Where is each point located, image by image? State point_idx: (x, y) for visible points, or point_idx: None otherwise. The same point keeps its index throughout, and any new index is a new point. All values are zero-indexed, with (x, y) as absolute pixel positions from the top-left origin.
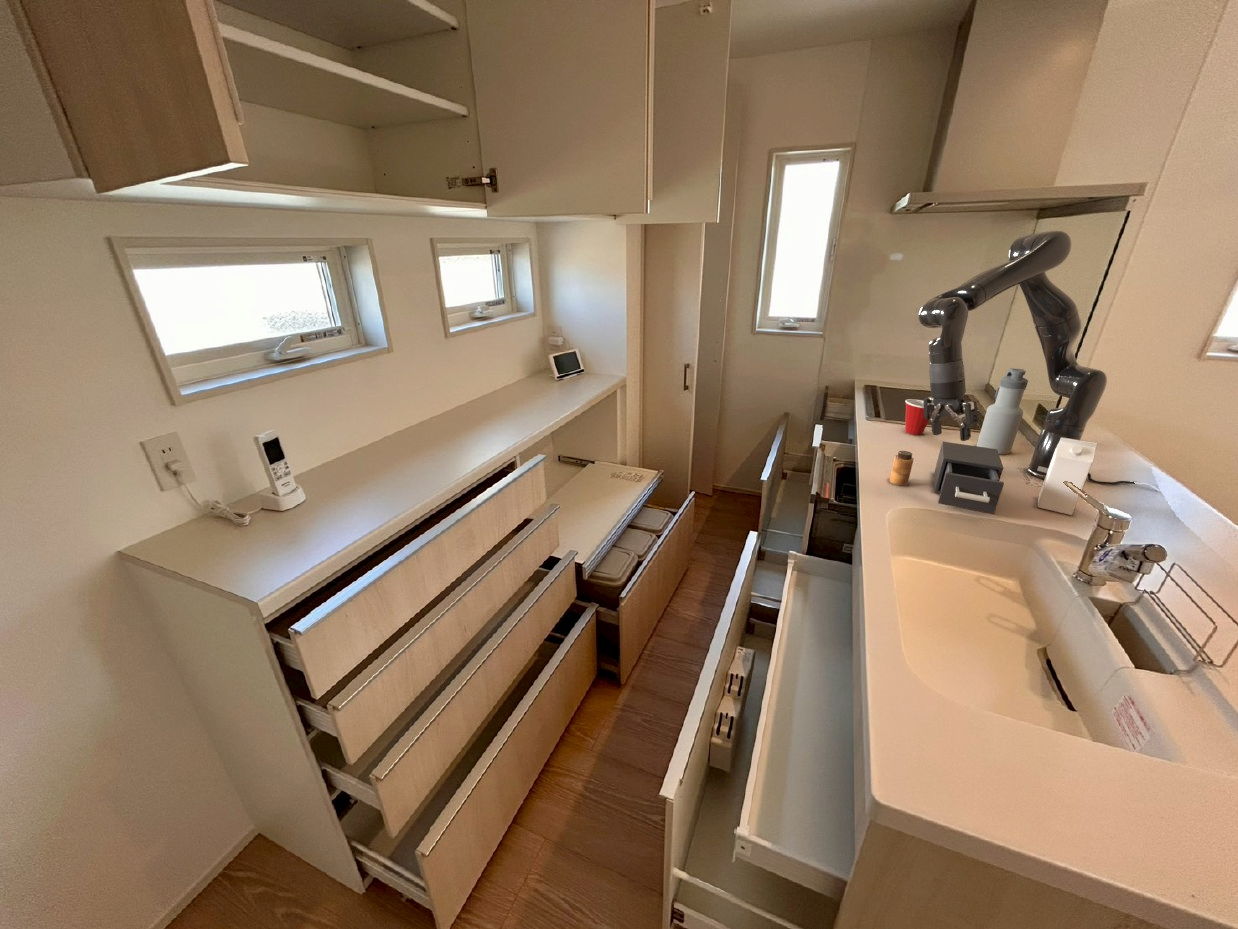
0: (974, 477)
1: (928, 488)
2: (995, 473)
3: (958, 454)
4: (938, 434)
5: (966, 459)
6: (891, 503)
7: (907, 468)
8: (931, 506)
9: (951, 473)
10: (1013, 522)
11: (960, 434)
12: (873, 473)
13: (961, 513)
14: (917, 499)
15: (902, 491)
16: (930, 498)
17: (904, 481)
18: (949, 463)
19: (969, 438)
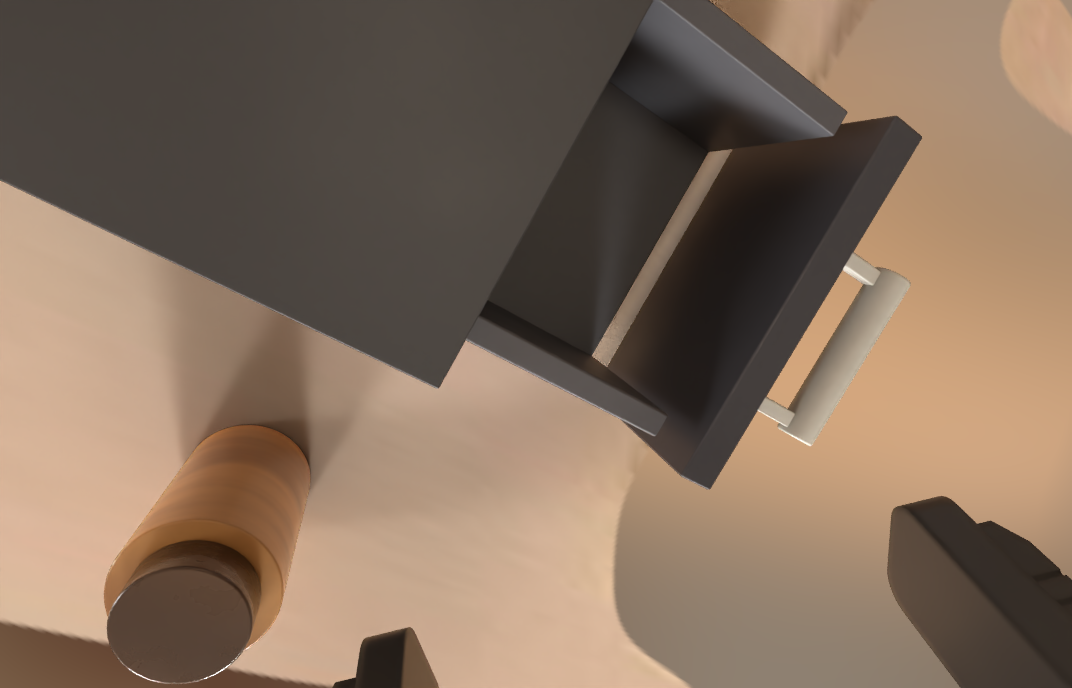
0: (799, 307)
1: None
2: (724, 32)
3: (304, 147)
4: (426, 662)
5: (468, 155)
6: (561, 621)
7: (291, 537)
8: (603, 428)
9: (711, 449)
10: (805, 73)
11: (966, 684)
12: (80, 593)
13: None
14: (514, 465)
15: (401, 508)
16: (501, 382)
17: (305, 483)
18: (475, 332)
19: (945, 499)
